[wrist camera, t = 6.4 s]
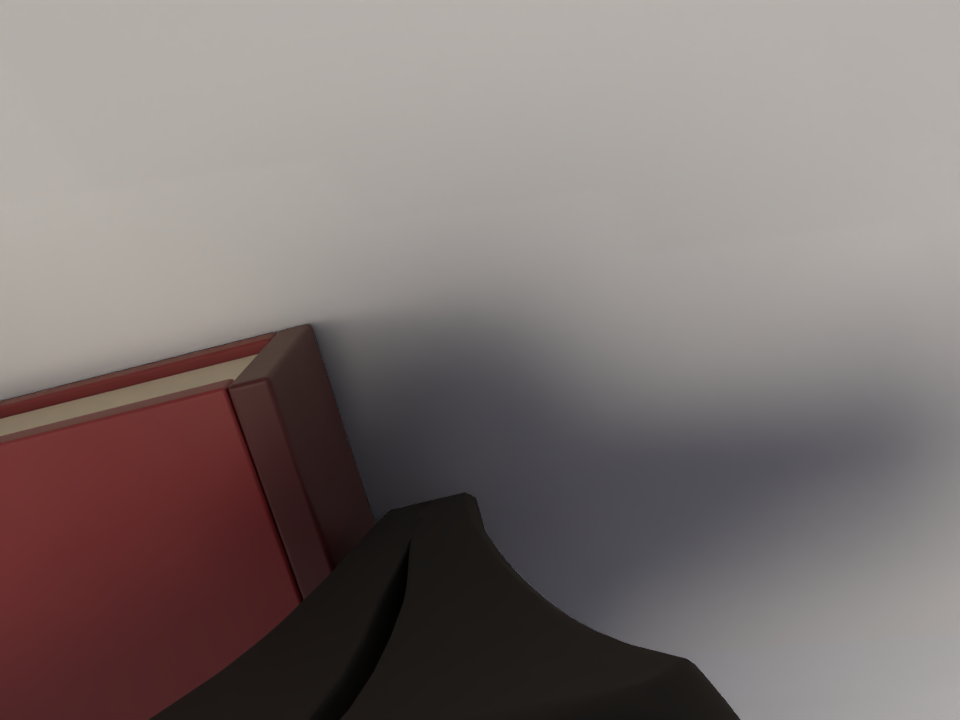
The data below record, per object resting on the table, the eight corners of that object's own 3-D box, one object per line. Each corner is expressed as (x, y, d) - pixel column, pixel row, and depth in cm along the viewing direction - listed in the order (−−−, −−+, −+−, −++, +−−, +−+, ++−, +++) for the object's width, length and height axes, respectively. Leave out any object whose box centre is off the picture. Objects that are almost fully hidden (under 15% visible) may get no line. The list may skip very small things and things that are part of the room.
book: (310, 322, 12) (268, 376, 9) (442, 731, 13) (436, 865, 11) (-346, 487, 12) (-548, 580, 10) (-130, 856, 14) (-255, 1009, 12)
